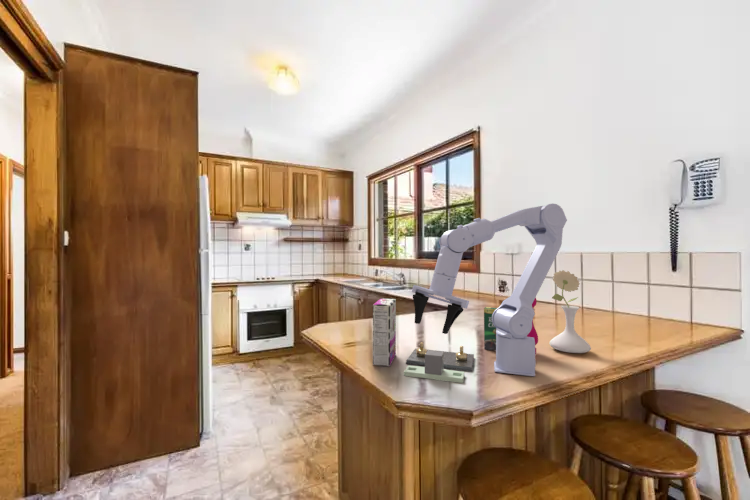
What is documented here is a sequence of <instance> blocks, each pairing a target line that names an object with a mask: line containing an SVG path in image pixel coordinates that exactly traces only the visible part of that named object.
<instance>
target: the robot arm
mask: <svg viewBox="0 0 750 500" xmlns="http://www.w3.org/2000/svg"><path fill="white" fill-rule="evenodd" d="M567 221H568V219H567V216H566V214H565V211H564V209H563V208H562V207H561V206H560V205H559V204H558V203H548V204H546V205H540V206H539V205H538V206H532V207H528V208H523V209H517V210H515V211H513V212H510V213H508V214H506V215H502V216H500V217H497V218H496V219H493V220H488V219H487V218H481V217H478V218H474V219H473V222H470V223H467V224H465V225H463V224H459V225H457V227H456V229H455V228H454V229H449V230H446V231H445V232H443V234H442V235H441V236H440V237H439V238H438V243H439V246H440V250H439V252H438V256H437V260H436V264H435V267H434V271H433V274H432V278H431V283H430V285H429V288H426V287H422V286H419V285H417V284H416V285H415V284H413V286H412V289H411V293H413V294H412V300H413V304H414V305H413V306H414V324H416V325H420V324H421V322H422V319H423V315H424V311H425V309H426V308H425V307H426V306H427V303H428V301H429V299H434V300H438V301H439V302H444V303H446V304H447V303H448V304H447V312H446V316H445V317H446V318H445V321H444V324H443V328H442V334H444V335H446V334H447V335H448V333H449V331H450V329H451V327H452V325H453V324H454V323H455V321H456V320H457V318H458V317H459V316H460V315H461V314H462V313H463V311H464V309H468V308H469V304H470V301H469V300H467V299H464V298H460V297H457V296H454V295H453V291H454V288H455V285H456V281H457V276H458V272H459V269H460V265H461V263H462V258H463V254H464V252H466V251H467V250H468V249H469V248H471V247H473V246H478V245H480V244H483V243H485V242H488V241H490V240H492V239H493V238H494V235H495V233H498V232H501V231H504V230H506V229H507V230H508V229H511V228H514V227H516V226H520V227H524V228H525V229H526V230H527V231H528V233H529V234H530V236H531V237H532V238H533V239H534V241H535V243H536V245H535V248H534V250H533V252H532V253H531V256H530V257H529V260H528V261H527V263H526V265H525V267H524V269H523V272H521V275H520V277H519V279H518V281H517V282H516V284H515V287H514V289H513V290H512V292H511V295H509V296H508V297H507V298H505V299H504V300H503V301H502V302H501V304H500V305H499V306H498V307H496V308H497V309H496V310H495V311H494V312H493V314H492V323H493V325H494V326H495V327H496V351H495V360H494V362H493V368H494V369H493V370H494V371H493V372H495V373H500V374H501V373H502V374H509V375H510V374H511V375H512V374H513V375H517V376H518V375H519V376H525V377H536V365H537V363H536V355H535V348H536V345H535V340H534V338H533V337H527V335H528V334H529V333H530V331H531V329H532V320H533V321H534V317H535V315H536V313H535V310H533V309H534V308H532V303H533V301H534V299H535V297H536V298H537V296H538V293H539V291H540V289H541V287H542V285H543V283H544V281H545V279H546V277H547V275H548V274H549V272H550V270H551V267H552V265H553V263H554V261H555V259H556V258H557V256H558V253H559V251H560V250H561V247H562V243H563V242H562V241H563V231H564V227H565V225H566V223H567ZM434 295H435V296H434ZM437 296H438V297H437ZM440 297H441V298H440ZM444 298H445V299H444Z"/></svg>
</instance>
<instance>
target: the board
mask: <svg viewBox="0 0 750 500" xmlns="http://www.w3.org/2000/svg"><path fill="white" fill-rule="evenodd" d="M427 350H428V351H427V352H426V354H425V366H421V365H412V364H407V366H406V368H405V369H404V370H403V376H405V377H414V378H419V379H420V378H422V379H429V380H437V381H444V382H445V381H446V382H453V383H459V384H463V383H464V378H465V371H463V370H455V369H446V368H444V352H441V351H442V350H436V351H431V350H432V349H427Z"/></svg>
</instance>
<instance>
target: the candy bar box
mask: <svg viewBox="0 0 750 500" xmlns="http://www.w3.org/2000/svg"><path fill="white" fill-rule="evenodd" d="M396 300H397V299H396V298H380V299H378V300H377V301H375V303H373V304H372V365H373V366H375V365H376V367H391V365H392V363H393V361H394V358H395V357H396V355H397V353H396V351H397V348H396V347H397V346H396V345H397V342H396V341H397V339H396V338H397V331H396V330H397V328H396V326H397V324H396V323H397V312H396V311H397V307H396V306H397V304H396V303H397V301H396Z"/></svg>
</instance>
